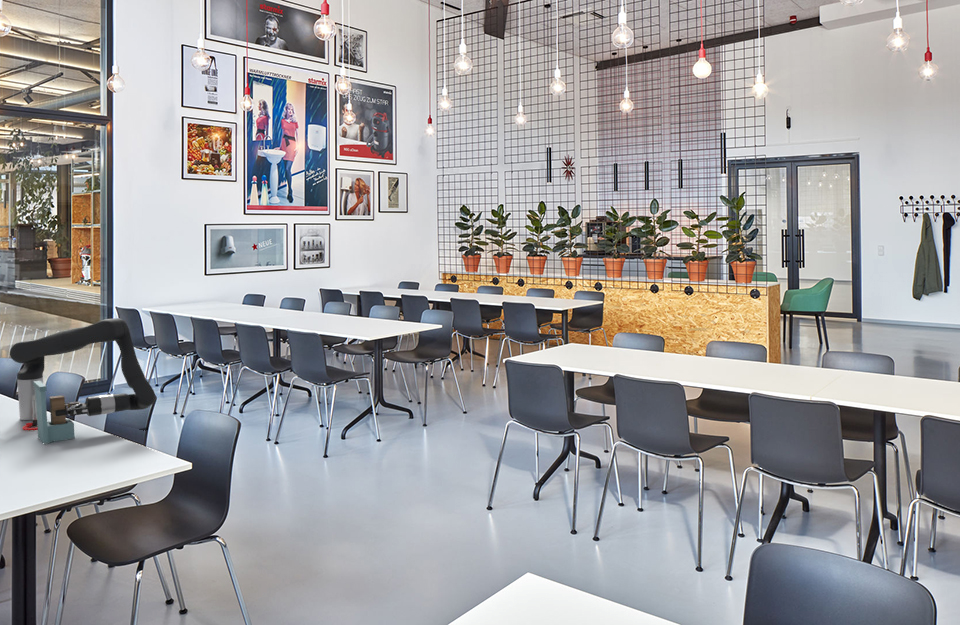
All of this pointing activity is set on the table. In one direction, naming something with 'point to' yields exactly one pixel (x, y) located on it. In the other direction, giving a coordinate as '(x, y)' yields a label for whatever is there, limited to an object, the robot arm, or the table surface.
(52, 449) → the table surface
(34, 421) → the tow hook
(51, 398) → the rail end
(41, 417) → the teal holder stand
